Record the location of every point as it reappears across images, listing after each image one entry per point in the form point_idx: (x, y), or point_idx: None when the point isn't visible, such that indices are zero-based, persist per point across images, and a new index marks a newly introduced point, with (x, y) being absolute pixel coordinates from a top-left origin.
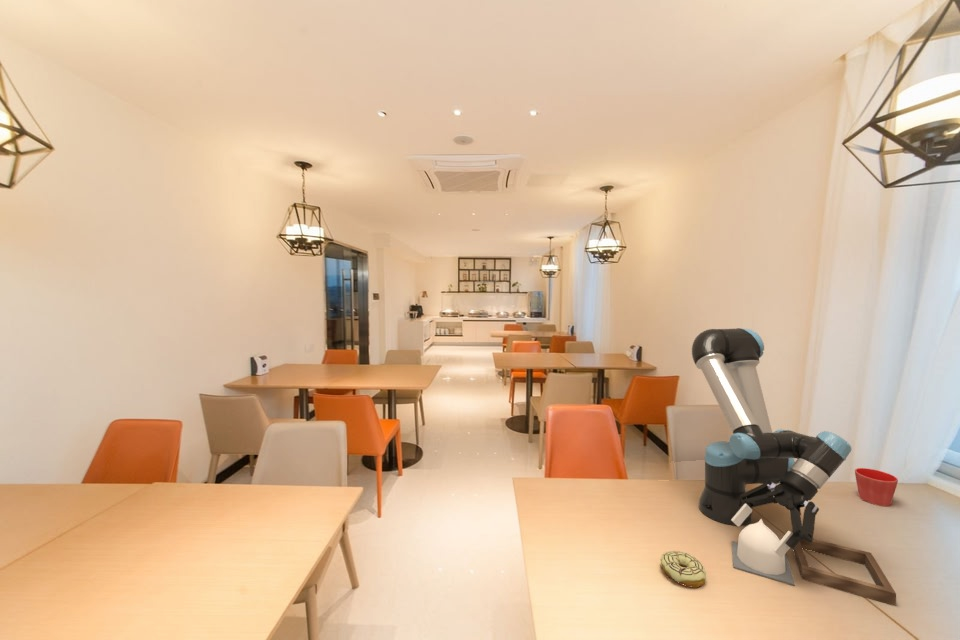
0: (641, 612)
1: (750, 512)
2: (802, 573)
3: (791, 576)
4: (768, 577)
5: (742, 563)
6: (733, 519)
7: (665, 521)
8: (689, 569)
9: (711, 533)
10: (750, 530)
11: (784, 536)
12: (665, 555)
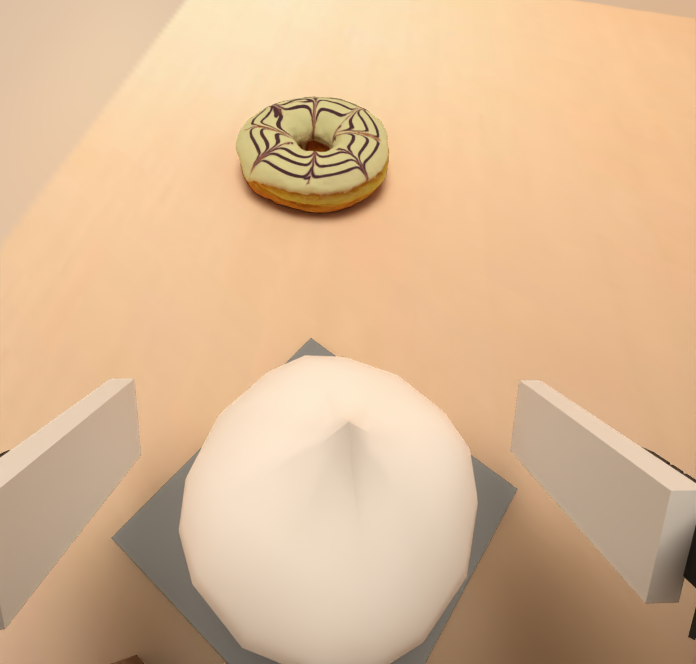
0: (211, 44)
1: (616, 564)
2: (120, 661)
3: (167, 586)
4: None
5: None
6: (534, 386)
7: (657, 288)
8: (270, 123)
9: None
10: (355, 377)
11: (39, 448)
12: (356, 106)
